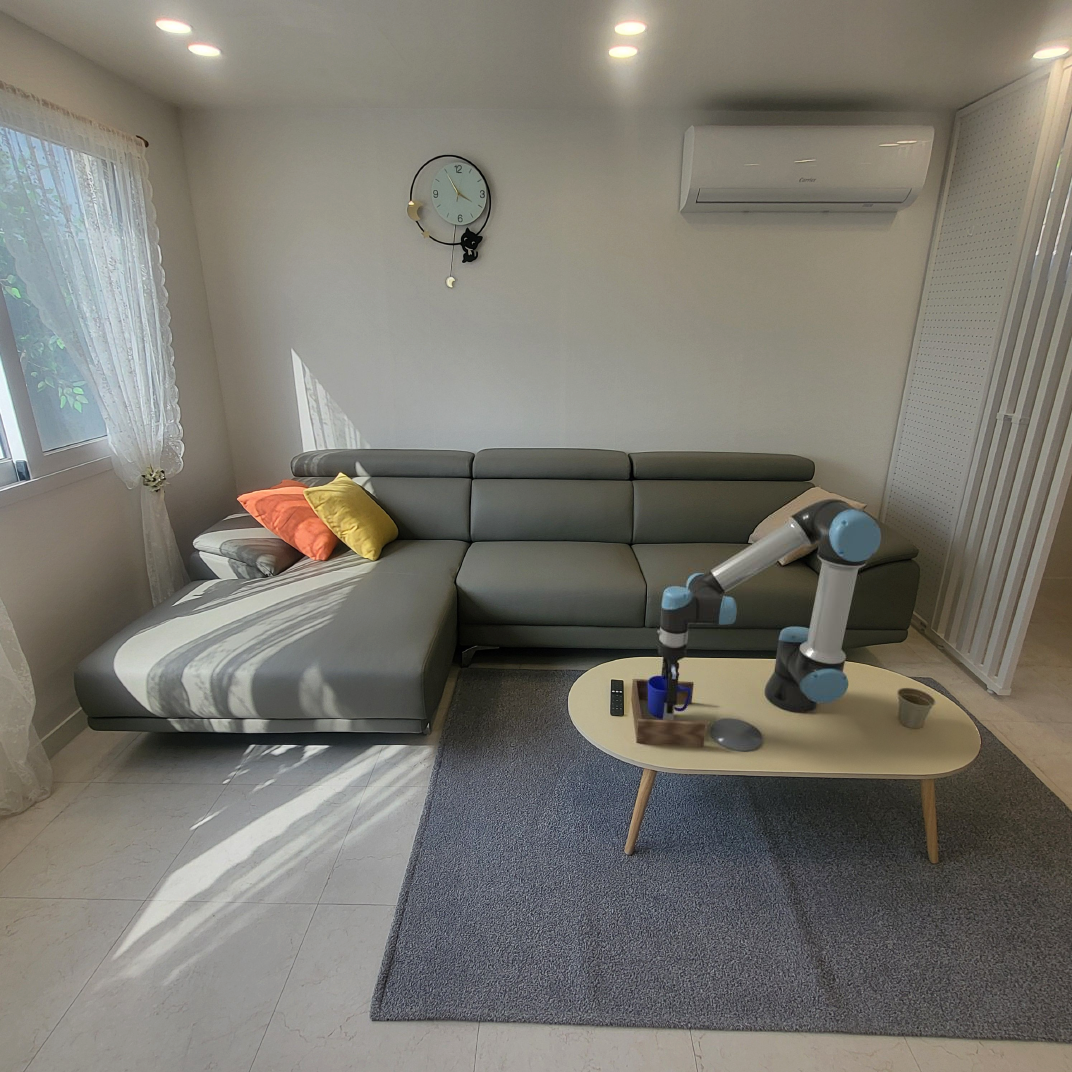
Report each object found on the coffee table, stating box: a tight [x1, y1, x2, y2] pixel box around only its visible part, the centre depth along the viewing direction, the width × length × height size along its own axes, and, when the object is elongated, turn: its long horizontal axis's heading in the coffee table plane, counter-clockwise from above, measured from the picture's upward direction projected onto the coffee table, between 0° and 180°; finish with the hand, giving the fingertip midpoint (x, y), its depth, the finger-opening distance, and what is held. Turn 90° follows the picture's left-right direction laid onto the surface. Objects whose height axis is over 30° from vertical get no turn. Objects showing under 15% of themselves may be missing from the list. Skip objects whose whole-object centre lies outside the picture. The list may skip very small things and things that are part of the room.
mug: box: [647, 675, 691, 720], centre depth 173 cm, size 8×12×10 cm
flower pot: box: [897, 687, 936, 729], centre depth 175 cm, size 9×9×9 cm
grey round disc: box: [709, 717, 764, 753], centre depth 170 cm, size 14×14×1 cm
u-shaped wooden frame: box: [630, 678, 707, 748], centre depth 175 cm, size 18×21×7 cm
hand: (666, 712), depth 175 cm, fingers closed on mug, 7 cm apart
